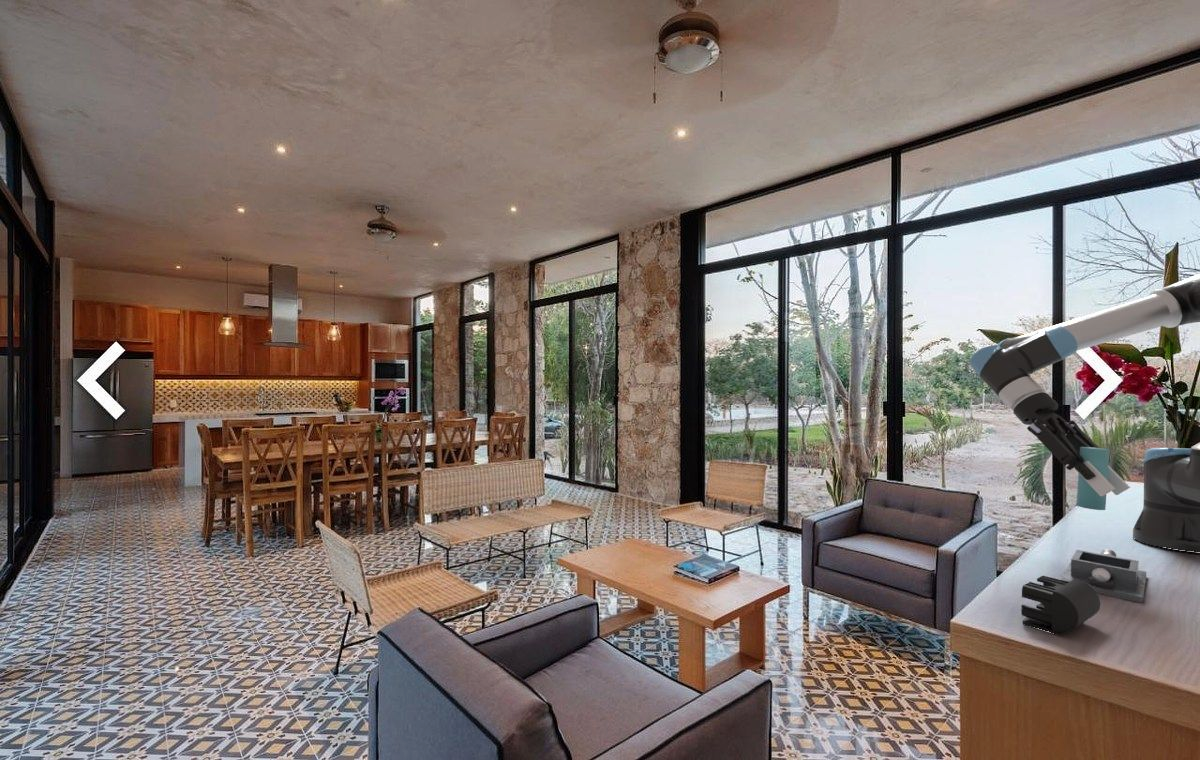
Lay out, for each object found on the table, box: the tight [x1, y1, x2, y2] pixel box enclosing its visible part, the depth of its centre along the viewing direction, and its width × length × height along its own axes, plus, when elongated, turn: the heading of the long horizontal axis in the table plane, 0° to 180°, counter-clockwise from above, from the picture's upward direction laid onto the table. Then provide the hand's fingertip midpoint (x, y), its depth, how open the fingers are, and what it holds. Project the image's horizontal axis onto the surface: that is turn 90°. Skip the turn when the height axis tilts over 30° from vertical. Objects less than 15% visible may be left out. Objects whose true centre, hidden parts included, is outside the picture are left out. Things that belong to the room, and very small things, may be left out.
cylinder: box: [1076, 447, 1110, 511], centre depth 111 cm, size 4×4×12 cm
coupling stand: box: [1059, 548, 1147, 604], centre depth 106 cm, size 19×11×4 cm, turn 134°
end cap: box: [1020, 575, 1101, 636], centre depth 86 cm, size 10×7×7 cm
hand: (1115, 491), depth 108 cm, fingers closed on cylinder, 4 cm apart
